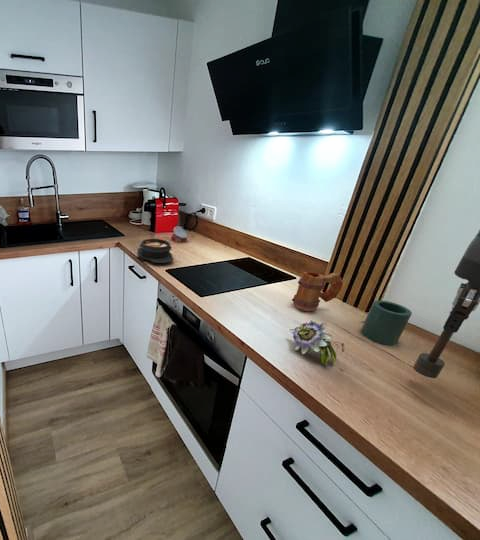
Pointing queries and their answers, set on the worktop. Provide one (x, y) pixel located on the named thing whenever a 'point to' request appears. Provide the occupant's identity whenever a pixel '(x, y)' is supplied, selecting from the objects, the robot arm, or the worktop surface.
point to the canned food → (179, 235)
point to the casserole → (155, 250)
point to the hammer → (433, 357)
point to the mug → (315, 290)
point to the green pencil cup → (385, 322)
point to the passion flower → (314, 340)
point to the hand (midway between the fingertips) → (450, 328)
